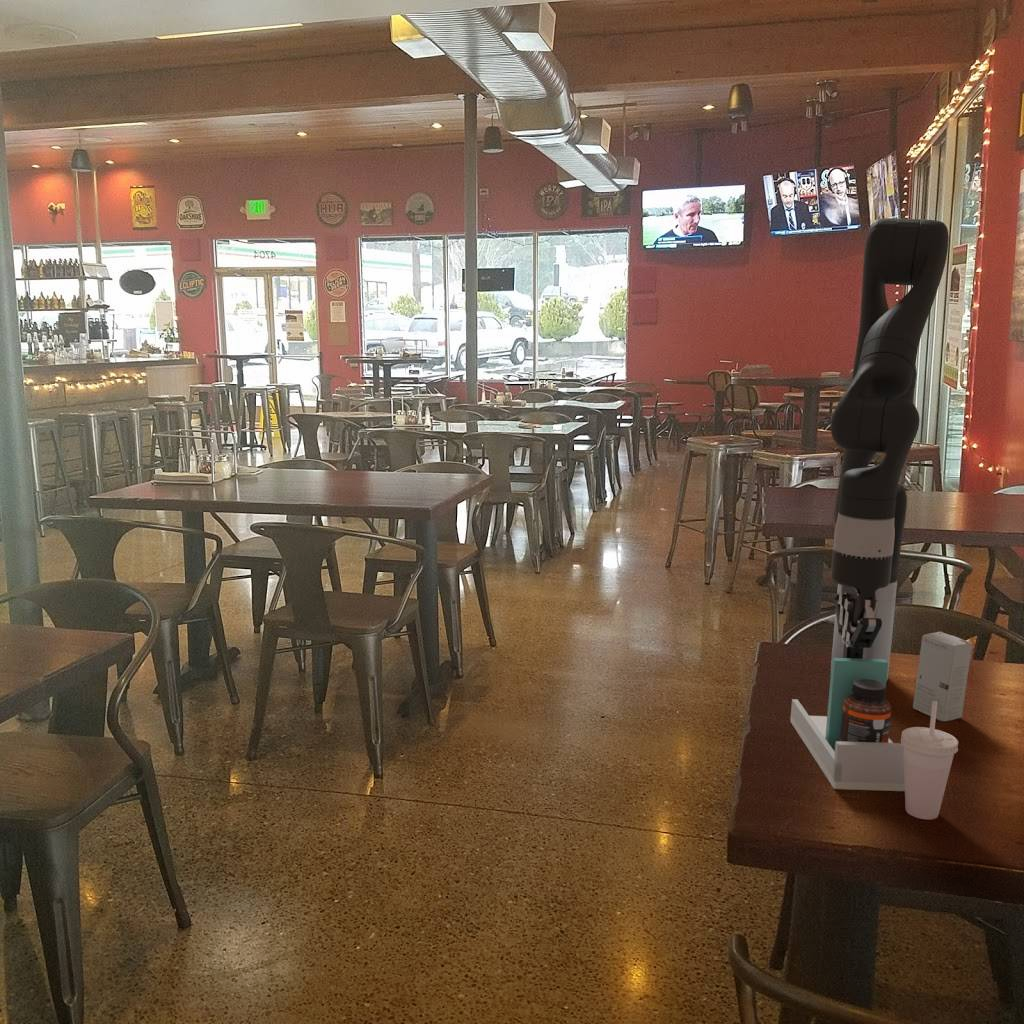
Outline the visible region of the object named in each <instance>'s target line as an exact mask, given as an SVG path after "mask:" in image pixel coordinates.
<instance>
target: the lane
mask: <svg viewBox="0 0 1024 1024" xmlns="http://www.w3.org/2000/svg"><path fill="white" fill-rule="evenodd" d="M790 710H791V711H790V723H791V724H792V727H793V728H794V730H795V731H796V732H797V735H798V736H799V737H800V738H801V740H802V742H803V744H805V745H804V746H805V747H807V749H808V750H809V751H808V752H809V753H810V754H811V756H812V757H813V758H814V760H815V762H816V763H817V765H818V766H819V768H820V770H821V771H822V773H823V774H824V776H825V777H826V779H827V780H828V782H829V784H830V786H831V787H832V788H833V790H850V791H851V790H853V791H854V790H859V791H860V790H861V791H885V792H889V791H891V792H905V779H904V752H903V744H902V743H901V742H900V743H899V742H893V741H892V740H891V739H890V737H889V739H888V743H875V742H842V741H836V743H835V752H834V750H833V749H832V747H831V746H830V745H829V743H828V742H827V740H826V739H825V737H826V725H827V716H826V715H825V716H824V715H809V714H808V712H807V711H806V709H805V708H804V706H803V705H802V704H801V703H800V701H799V700H798V699H797V698H796V699H793V698H792V699H791V709H790Z"/></svg>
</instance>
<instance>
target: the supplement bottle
mask: <svg viewBox="0 0 1024 1024" xmlns="http://www.w3.org/2000/svg"><path fill="white" fill-rule="evenodd" d="M852 691H853V694H850V695H848V696H847V697H846V698H845V700H844V703H843V712H842V723H841V735H840V741H842V742H875V743H888V739H889V738H890V728H891V717H892V706H891V705H892V704H891V703H890V701H889V700H887V699H886V690H885V685H884V684H883V683H881V682H878V681H875V680H869V679H858V680H855V681H854V682H853V688H852ZM884 696H885V697H884Z"/></svg>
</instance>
